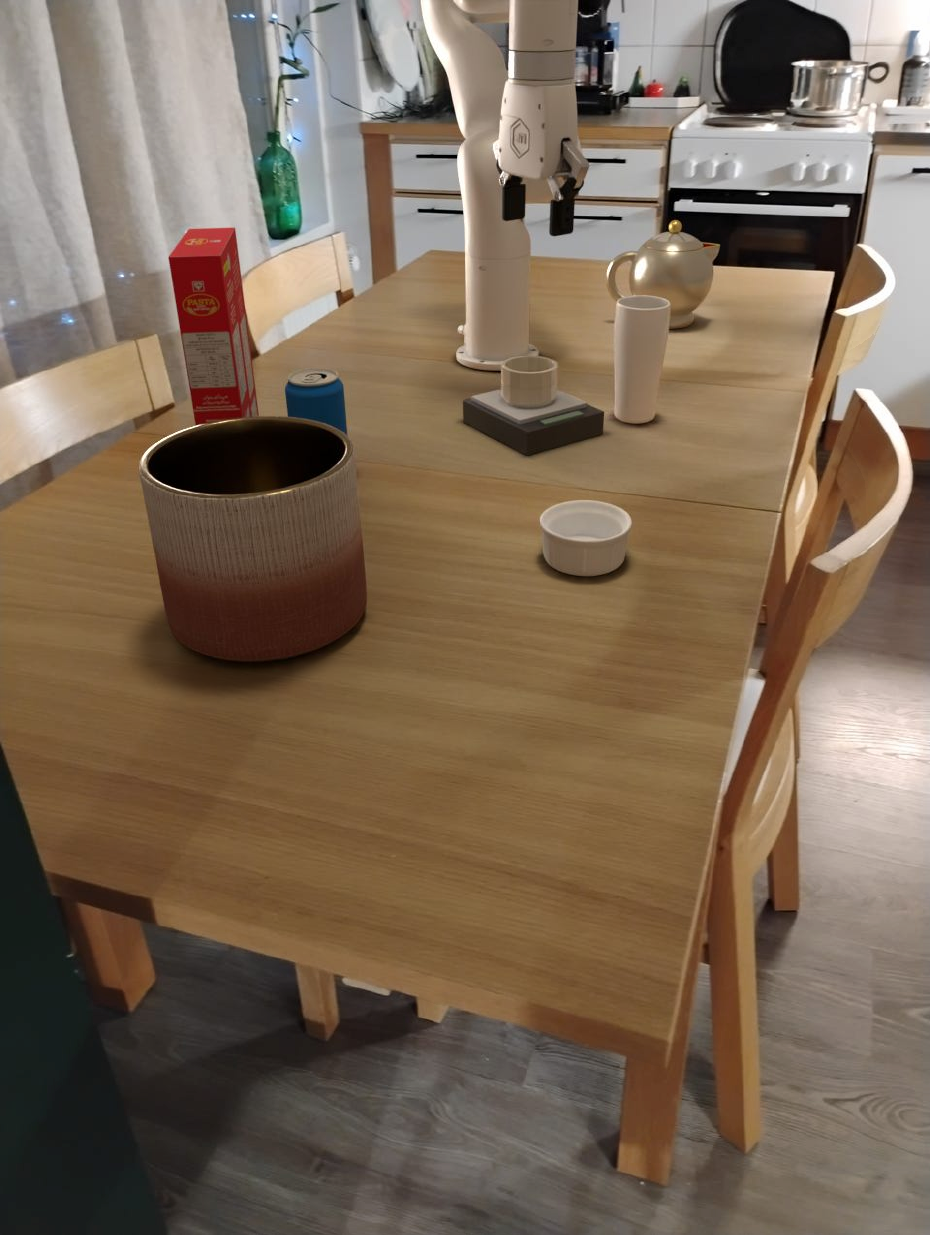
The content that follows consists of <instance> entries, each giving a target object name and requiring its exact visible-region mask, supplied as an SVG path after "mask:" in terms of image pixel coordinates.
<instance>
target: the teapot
mask: <svg viewBox="0 0 930 1235" xmlns="http://www.w3.org/2000/svg"><path fill="white" fill-rule="evenodd" d="M682 227H683V226H682V222H681V221H679V220H678V219H674V220H671V221H670V222H669V224H668V230H669V231H665V232H661V233H658V234H656V235H654V236H652V237H651V238H648V239H647V240H646V241H645V242H644V243H643V244H641V246H640V247H639V248H638V250H632V251H631V250H630V251H625V252H622V253H620V254H618V255H617V256H616V257H614V258H613V259H612V260H611V262H610V263H609V265H608V267H607V270H606V275H605V278H606V279H605V284H606V288H607V291H608V293H609V295H610V297H611V298H612V299H613V301H615V302H617V301H618V300H619V299H620V298H623V297H627V295H624V294H622V293H621V292H620V290H619V288H618V287H617V282H616V274H617V270H618V269H619V267H620V266H621V265H622V264H624V263H627V262H631V263H630V266H629V271H628V285H629V290H630V293H631V296H638V295H644V296H655V297H660V298H664V299H666V300H668V301H669V302H670V304H671V305H670V323H669V330H677V329H684V328H686V327H688V326H690V325H692V324H693V322H694V319H695V316H694V313H693V312H694V311H695V310H697V309H698V308H699V307H700V306H701V305H702V304H703V302H705V300H706V298H707V297H708V295H709V293H710V291H711V289H712V285H713V281H714V264H713V263H714V260H715V259H716V258H717V256H718V254H719V251H720V249H721V248H720V247H721V244H719V243H713V242H704V241H700V240H699V239H698V238H696V237H695V236H693V235H691V234H689V233H686V232H683V231H681V230H682Z"/></svg>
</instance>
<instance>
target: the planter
mask: <svg viewBox="0 0 930 1235" xmlns="http://www.w3.org/2000/svg"><path fill="white" fill-rule="evenodd" d="M356 463H357V462H356V452H355V446H354V442H353V441H352V440H351V438H350V437H349V436H348V434H347V435H346V434H345V433H343V432H342V431H340V430H339V429H337V428H335V427H333V426H330V425H328V424H325V423H321V422H318V421H314V420H309V419H303V418H296V417H288V416H283V415H282V416H281V415H259V416H253V417H241V418H232V419H225V420H220V421H214V422H210V423H205V424H201V425H198V426H196V425H194V426H192V427H187V428H185V429H182V430H179V431H177V432H174V433H173V434H170V435H168V436H166V437H164V438H162V439H161V440H159V441H158V442H156V443H154V444H152V446H150V447H149V448H148V449H147V450H146V451H145V452H144V453H143V455H142V456H141V458H140V460H139V463H138V472H139V474H138V475H139V478H140V483H141V488H142V494H143V499H144V504H145V509H146V515H147V520H148V525H149V531H150V536H151V541H152V546H153V552H154V558H155V564H156V569H157V574H158V575H157V576H158V580H159V586H160V591H161V596H162V602H163V605H164V611H165V615H166V619H167V623H168V626H169V629H170V630H171V632H172V634H173V636H174V637H175V639H177V640H178V641H179V642H180V643H181V644H183V645H184V646H185V647H186V648H188V649H190V650H192V651H194V652H196V653H199V654H201V655H203V656H207V657H210V658H214V659H218V660H223V661H228V662H235V663H236V662H238V663H265V662H274V661H281V660H288V659H292V658H296V657H300V656H303V655H306V654H309V653H312V652H315V651H317V650H320V649H322V648H324V647H326V646H328V645H330V644H332V643H334V642H335V641H337V640H338V639H340V638H342V637H343V636H344V635H345V634H347V633H349V631H350V630H352V629H353V627H355V626H356V625H357V624H358V622H359V621H360V620H361V618H362V616H363V615H364V612H365V610H366V607H367V600H368V589H367V588H368V585H367V572H366V563H365V562H366V561H365V551H364V541H363V532H362V531H363V530H362V520H361V512H360V500H359V490H358V489H359V488H358V476H357V465H356Z"/></svg>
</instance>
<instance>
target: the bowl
mask: <svg viewBox="0 0 930 1235" xmlns="http://www.w3.org/2000/svg"><path fill="white" fill-rule="evenodd" d="M558 380H559V363H558V362H557V361H556V360H555V359H552V358H550V357H546V356H541V355H539V356H517V357H513V358H509V359H507V360H505V361H503V362H502V364H501V371H500V389H501V396H502V397H503V399H505V401H506V402H507V403H508V404H510V405H513V406H516V407H522V408H536V407H542V406H546V405H548V404H550V403H551V402H552V401H553V400H554V399H555V398H556V396H557V390H558Z"/></svg>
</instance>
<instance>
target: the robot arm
mask: <svg viewBox="0 0 930 1235" xmlns="http://www.w3.org/2000/svg"><path fill="white" fill-rule="evenodd" d="M420 5H421V6H420V7H421V15H422V19H423V25H424V28H425V31H426V34H427V37H428V39H429V43H430V44H431V46H432V49H433V51H434V52H435V54H436V56H437V58H438V59H439V61H440V63H441V65H442V66H443V69H444V70H445V72H446V75H447V80H448V84H449V89H450V94H451V99H452V104H453V107H454V112H455V116H456V121H457V124H458V128H459V130H460V133H461V135H462V137H463V138H464V141H463V142H462V143H461V144H460V147H459V149H458V152H457V159H456V162H457V163H456V164H457V165H456V167H457V168H456V169H457V176H458V184H459V188H460V196H461V203H462V210H463V211H462V212H463V213H462V214H463V226H464V229H463V230H464V262H465V263H464V264H465V266H464V267H465V270H464V271H465V323H464V325H463V324H460V325H459V326H458V328H457V333H458V334H459V335H462V336H463V337H464V342H463V343H464V344H463V345H461V346H459V347H458V348H457V350H456V352H455V355H456V357H455V358H456V360H457V362H458V363H459V364H460V365H462V366H464V367H468V368H471V369H475V370H480V371H481V370H482V371H491V372H492V371H493V372H494V371H496V372H497V371H499V372H501V364H502V362H503V361H505V360H507V359H509V358H513V357H517V356H540V351H539V349H538V348H537V347H536V346H534V345H533V344H531V343H530V309H531V308H530V304H531V303H530V302H531V262H532V260H531V259H532V258H531V257H532V256H531V255H532V254H531V253H532V252H531V249H532V246H531V244H532V242H531V235H530V233H529V230H528V228H527V227H526V225H525V224H524V222H523V221H522V219H525V217H526V205H532V204H549V228H548V232H549V235H550V236H551V237H560V236H566V235H571V234H573V232H574V227H575V225H574V224H575V223H574V222H575V206H576V205H575V203H576V199H578V198H579V196H580V193H579V192H580V191H581V190H582V188H583V187H584V185H585V179H586V176H587V174H588V171H589V168H590V163H589V161H588V159H587V158H586V157H585V156H584V154H583V150H582V146H581V141H580V136H579V128H578V127H579V126H578V125H579V123H578V121H579V120H578V103H577V91H576V83H575V75H576V74H575V72H576V51H577V50H576V48H577V32H578V31H577V30H578V11H579V0H420ZM476 24H508V62H507V63H508V65H507V66H508V67H506V63H505V58H504V54H503V53H502V50H501V48H500V47H499V46H498V45H497V43H496V42H495V41H494V40H493V39H492V38H491V36H489V35H488V34H487V33H486V32H484V31H483V30H482V29H480V28H479V27H478V26H476ZM507 68H508V69H507Z"/></svg>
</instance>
